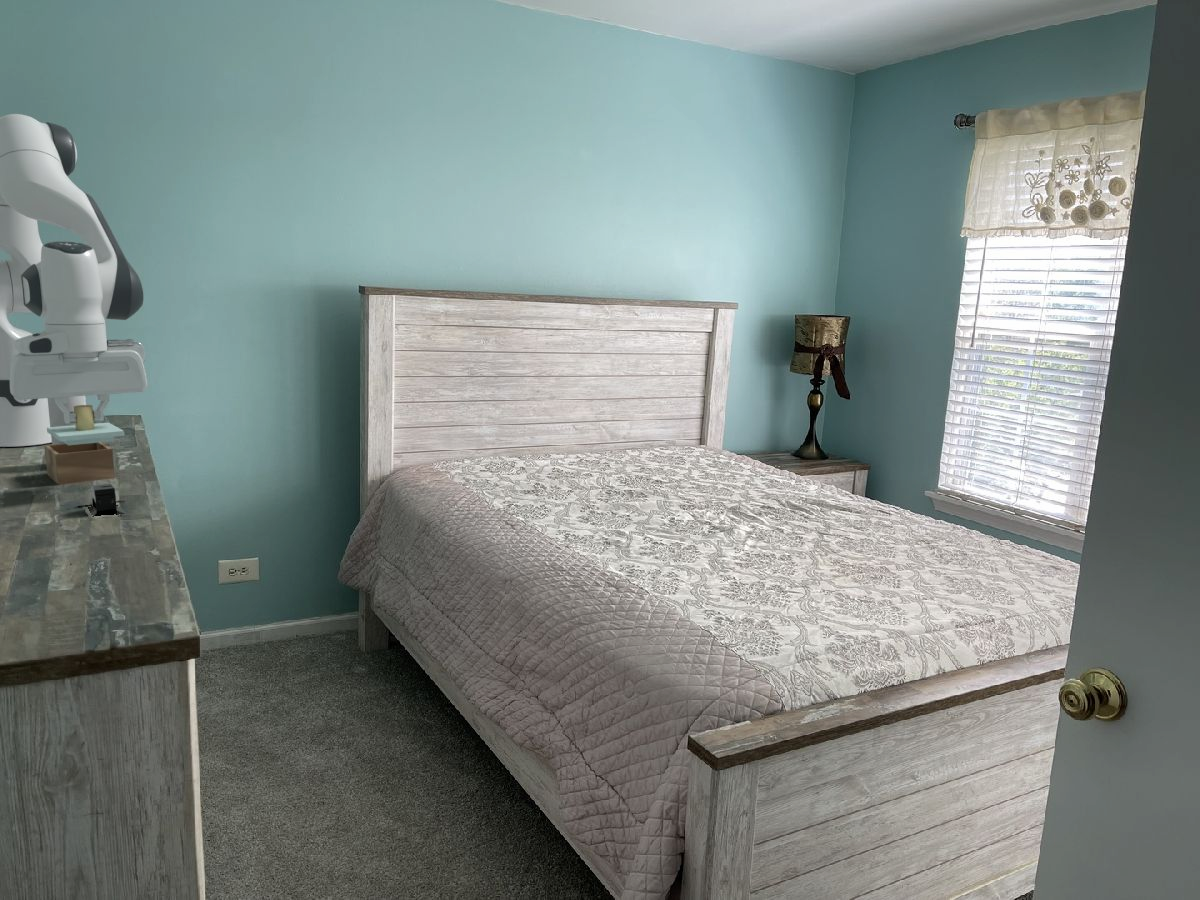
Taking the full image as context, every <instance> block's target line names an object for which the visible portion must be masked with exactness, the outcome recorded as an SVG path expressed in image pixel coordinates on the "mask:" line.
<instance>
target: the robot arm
mask: <svg viewBox="0 0 1200 900" xmlns="http://www.w3.org/2000/svg"><path fill="white" fill-rule="evenodd" d="M77 160H78V150H77V146H76V143H75V141H74V138H73V135H72V133H71V132H70V131H69V130H68V129H67V128H66V127H64V126H62V125H59V124H56V123H52V122H48V121H47V122H45V123H44V122H40V121H38V120H37V119H36V118H33V117H32V116H29V115H25V114H21V113H11V114H5V115H3V116H0V250H2V251H4V252H5V253H7V254H9V259H7V260H6V259H5V260H0V447H2V448H5V447H25V446H26V447H27V446H38V445H45V444H50V443H51V444H52V439H51V435H50V434H49V433H48V432H47V427H50V419H49V409H48V398H55V403H56V404H57V406H58V407H59V408H60V409H61V411H62V412H63V413H64V421H65V423H66V424H70V423H76V419H75V417H76V413H75V412H69V411H68V410H67V408H66V407H65V406H64V404H66V403H67V397H73V396H85V397H86V396H96V397H97V400H99V401H100V402H99V404H98V406H97V408H96V409H93V417H94V422H102V421H103V422H105V418H104V411H105V409H106V408H107V406H108V404H109V402H110V395H116V394H117V395H118V394H120V395H121V394H132V393H134V394H135V393H143V392H145V391H146V389H147V388H148V378H147V372H146V368H145V365H144V362H145V361H146V348H145V346H144V345H143V344H142V343H140V342H139V341H136V340H135V339H130V338H128V339H107V328H106V327H107V326H106V319H107V320H119V321H127V320H128V319H130V318H131V317H133V316H134V315H135V314H136V313H137V312H138V311H139V310H140V309H141V308H142V306H143V303H144V289H143V288H144V287H143V285H142V282H141V279H140V277H139V274H138V273H137V271H136V270H135V269H134V268H133V266H132V265H131V264H130V262H129V260H128V259H127V258H126V256H125V254H124V252H123V250H122V248H121V247H120V244H119V243H118V241H117V239H116V237H115V235H114V233H113V231H112V229H111V227H110V225H109V223H108V222H107V220H106V218H105V216H104V214H103V212H102V211H101V208H100V207H99V205H98V204H97V202H96V201H95V199H94V198H93V197H92V195H91V194H88V193H87V192H85V191H84V190H82V189H80V188H79V187H78V186H77V185H76V184H75V183H74V182H73V181H72V180H71V179H70V178H69V176H70V175H71V174H72V173H73V172H74V170H75V168H76V163H77ZM38 221H39V222H43V223H47V224H50V225H53V226H57V227H59V228H60V227H61V228H62V229H65V230H68V231H70V232H72V233H74V234H76V235H78V236H79V237H80V238H81V239H82V240H83V241H84V243H85V244H84V243H81V242H75V241H74V242H73V241H50V242H47V243H45V244H43V242H42V240H41V237H40V233H39V225H38ZM20 313H21V314H22V313H23V314H27V313H28V314H31V313H33V314H34V315H36V316H38V317H41V318H44V328H45V329H44V330H43V331H39V332H37V333H32V332H29V331H27V330H25V329H22V328H19V327H17V326H14V325H13V324H11V323H10V321H9V319H8V314H20ZM63 403H64V404H63Z"/></svg>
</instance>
